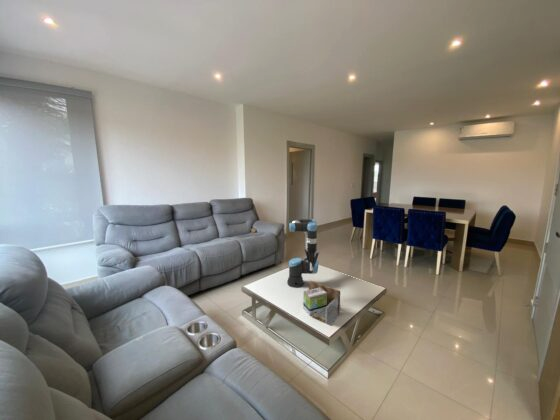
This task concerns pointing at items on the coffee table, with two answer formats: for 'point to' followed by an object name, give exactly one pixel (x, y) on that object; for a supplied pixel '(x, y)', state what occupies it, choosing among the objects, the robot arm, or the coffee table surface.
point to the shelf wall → (330, 296)
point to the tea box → (315, 301)
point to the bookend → (332, 311)
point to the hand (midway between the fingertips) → (311, 269)
